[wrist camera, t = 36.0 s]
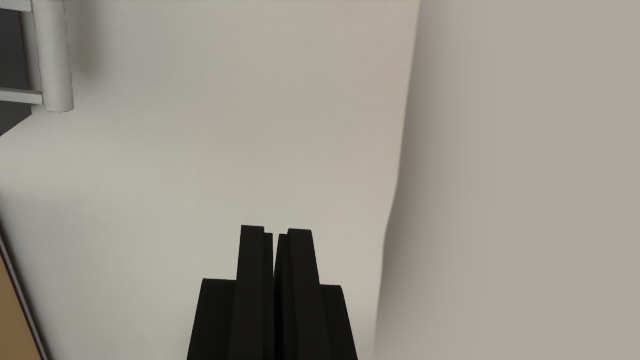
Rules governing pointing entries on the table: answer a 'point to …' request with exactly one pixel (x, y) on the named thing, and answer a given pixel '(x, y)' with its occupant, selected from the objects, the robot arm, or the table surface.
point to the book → (16, 317)
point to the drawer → (53, 54)
